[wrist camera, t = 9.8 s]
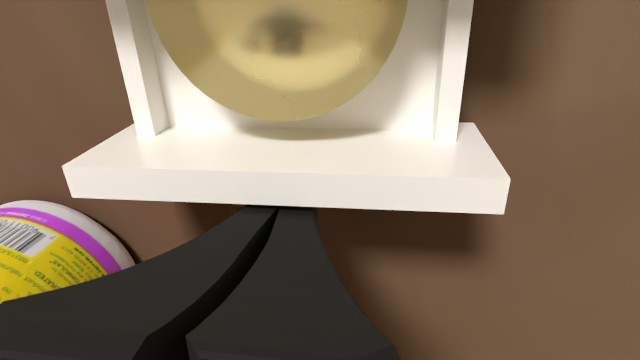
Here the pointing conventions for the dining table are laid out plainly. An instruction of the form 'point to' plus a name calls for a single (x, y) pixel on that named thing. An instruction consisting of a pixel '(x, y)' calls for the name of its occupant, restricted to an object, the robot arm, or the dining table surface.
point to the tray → (302, 132)
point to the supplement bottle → (53, 249)
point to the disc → (279, 50)
